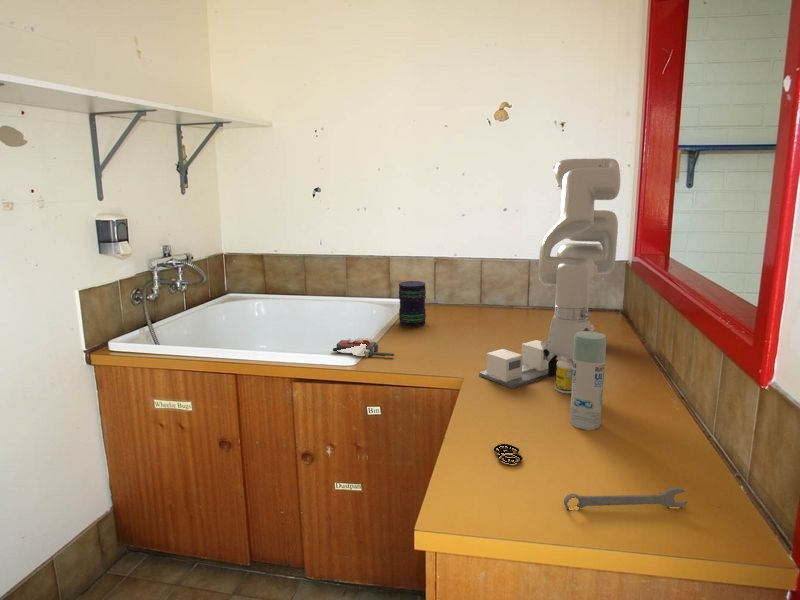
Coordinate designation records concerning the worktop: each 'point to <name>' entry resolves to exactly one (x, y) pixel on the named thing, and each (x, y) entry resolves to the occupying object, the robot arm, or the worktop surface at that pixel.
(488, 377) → the rail plate
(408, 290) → the storage jar
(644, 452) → the worktop surface
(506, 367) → the mounted modules
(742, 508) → the worktop surface
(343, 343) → the red white elongated piece
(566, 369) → the supplement bottle
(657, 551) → the worktop surface
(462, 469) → the worktop surface
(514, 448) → the corroded twin loop
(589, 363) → the spray paint can
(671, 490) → the combination wrench
